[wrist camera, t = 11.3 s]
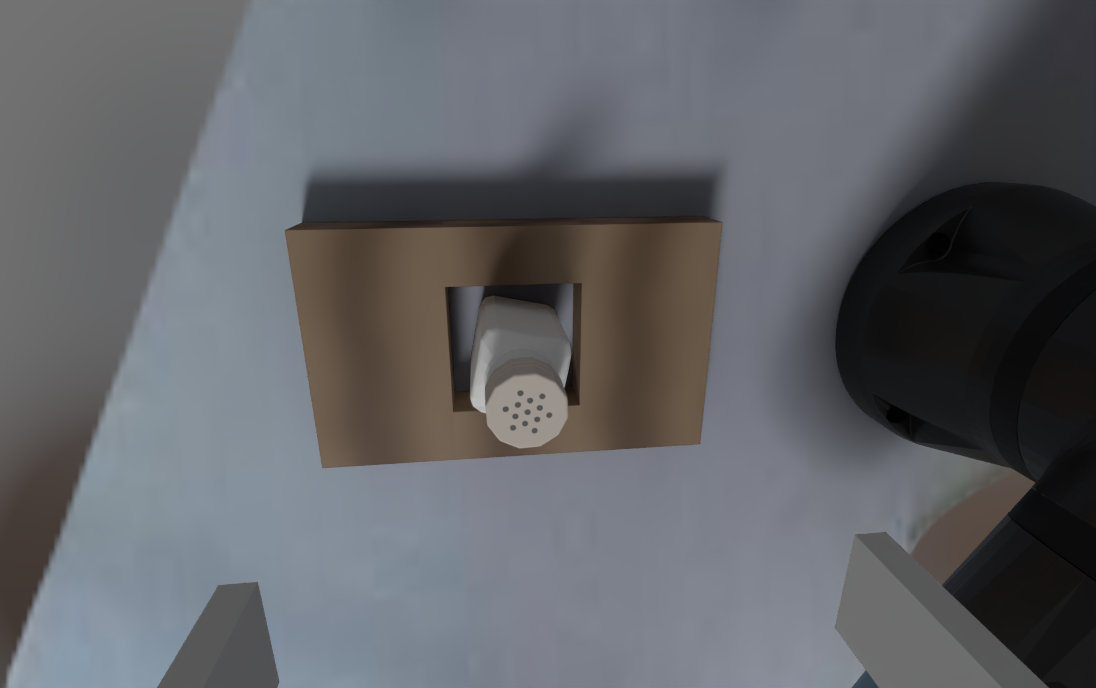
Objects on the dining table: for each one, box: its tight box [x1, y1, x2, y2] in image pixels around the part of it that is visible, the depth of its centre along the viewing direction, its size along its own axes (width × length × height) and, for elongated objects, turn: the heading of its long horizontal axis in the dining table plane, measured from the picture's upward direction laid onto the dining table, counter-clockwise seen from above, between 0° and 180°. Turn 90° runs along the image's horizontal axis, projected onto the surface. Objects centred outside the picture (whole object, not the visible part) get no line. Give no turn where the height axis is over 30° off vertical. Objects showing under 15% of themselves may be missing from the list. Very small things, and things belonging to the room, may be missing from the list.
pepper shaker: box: [470, 296, 572, 448], centre depth 26 cm, size 4×4×10 cm
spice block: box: [285, 216, 722, 468], centre depth 29 cm, size 20×12×2 cm, turn 90°
